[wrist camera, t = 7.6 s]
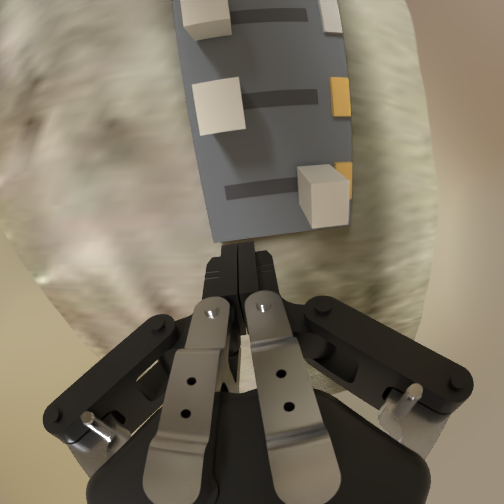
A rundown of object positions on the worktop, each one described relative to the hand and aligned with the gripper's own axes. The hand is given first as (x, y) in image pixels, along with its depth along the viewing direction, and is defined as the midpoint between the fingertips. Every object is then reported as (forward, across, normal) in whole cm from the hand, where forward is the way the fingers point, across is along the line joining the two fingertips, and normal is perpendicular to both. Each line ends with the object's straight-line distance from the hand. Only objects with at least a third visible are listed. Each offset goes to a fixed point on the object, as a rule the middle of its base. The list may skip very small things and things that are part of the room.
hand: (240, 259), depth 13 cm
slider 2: (+12, -7, +1) cm, 14 cm away
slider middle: (+12, 0, -7) cm, 14 cm away
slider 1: (+12, 0, -15) cm, 19 cm away
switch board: (+15, -4, -7) cm, 17 cm away
